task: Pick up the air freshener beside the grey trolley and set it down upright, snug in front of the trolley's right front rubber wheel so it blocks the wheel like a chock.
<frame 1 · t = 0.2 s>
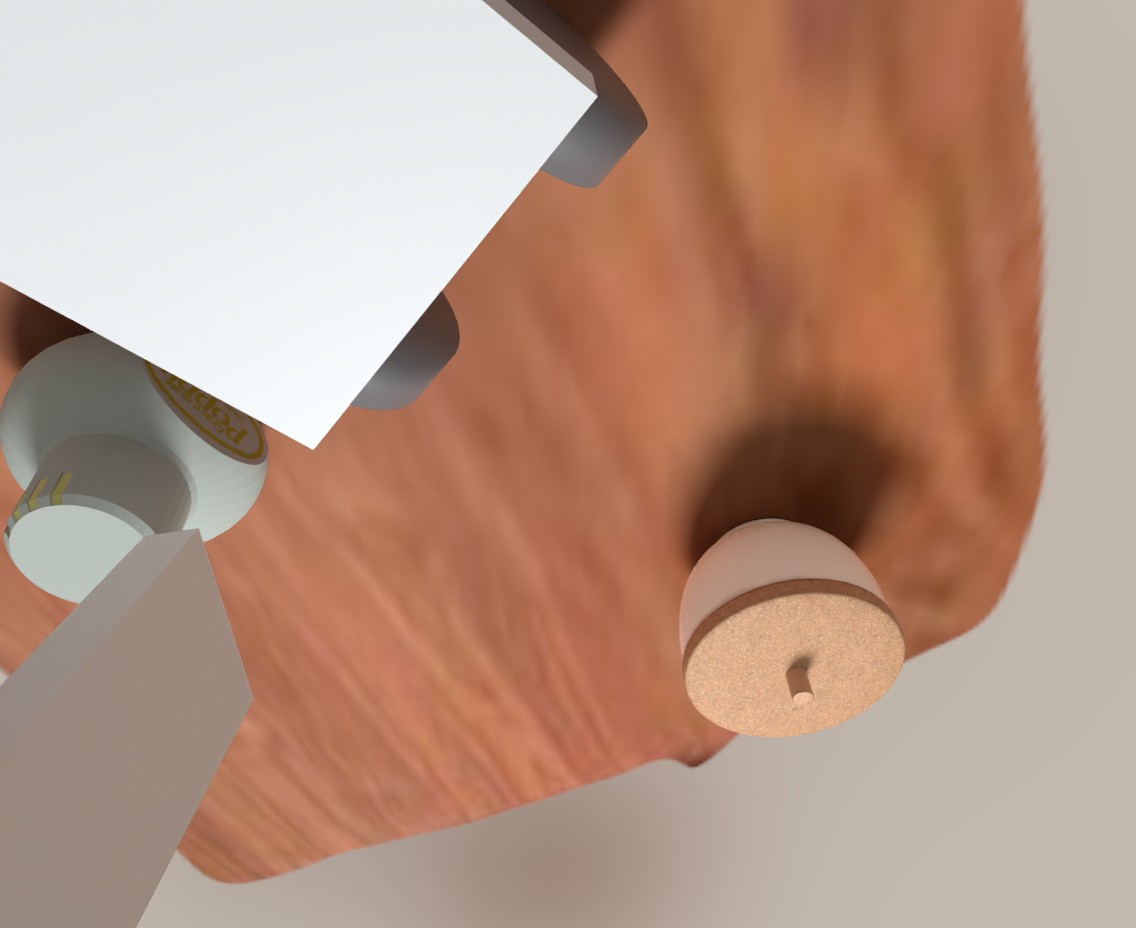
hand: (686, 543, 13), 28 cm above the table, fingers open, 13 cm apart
lidded jar: (761, 557, 53), on the table
air freshener: (159, 404, 45), on the table
trolley: (244, 5, 34), on the table
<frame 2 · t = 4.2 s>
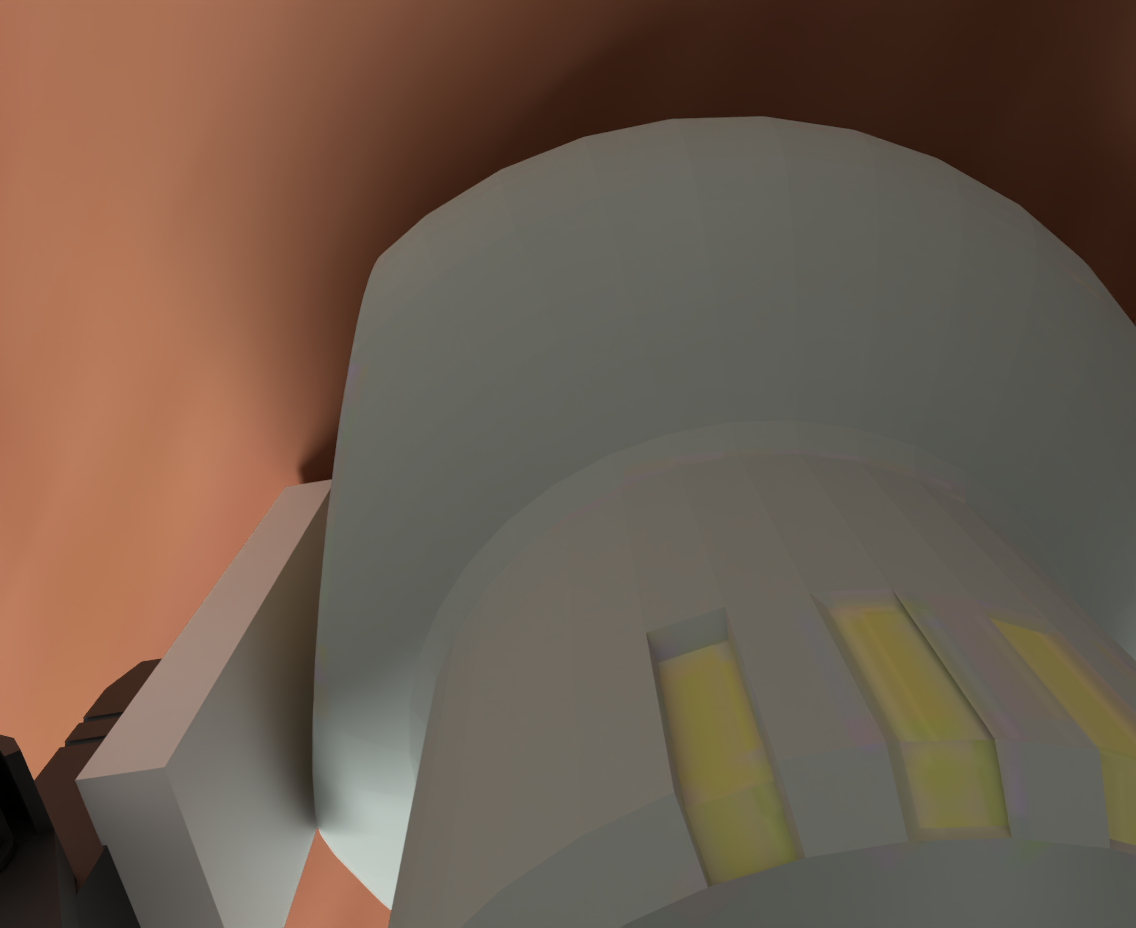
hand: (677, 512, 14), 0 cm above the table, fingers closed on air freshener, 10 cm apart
air freshener: (674, 500, 15), on the table, touching gripper
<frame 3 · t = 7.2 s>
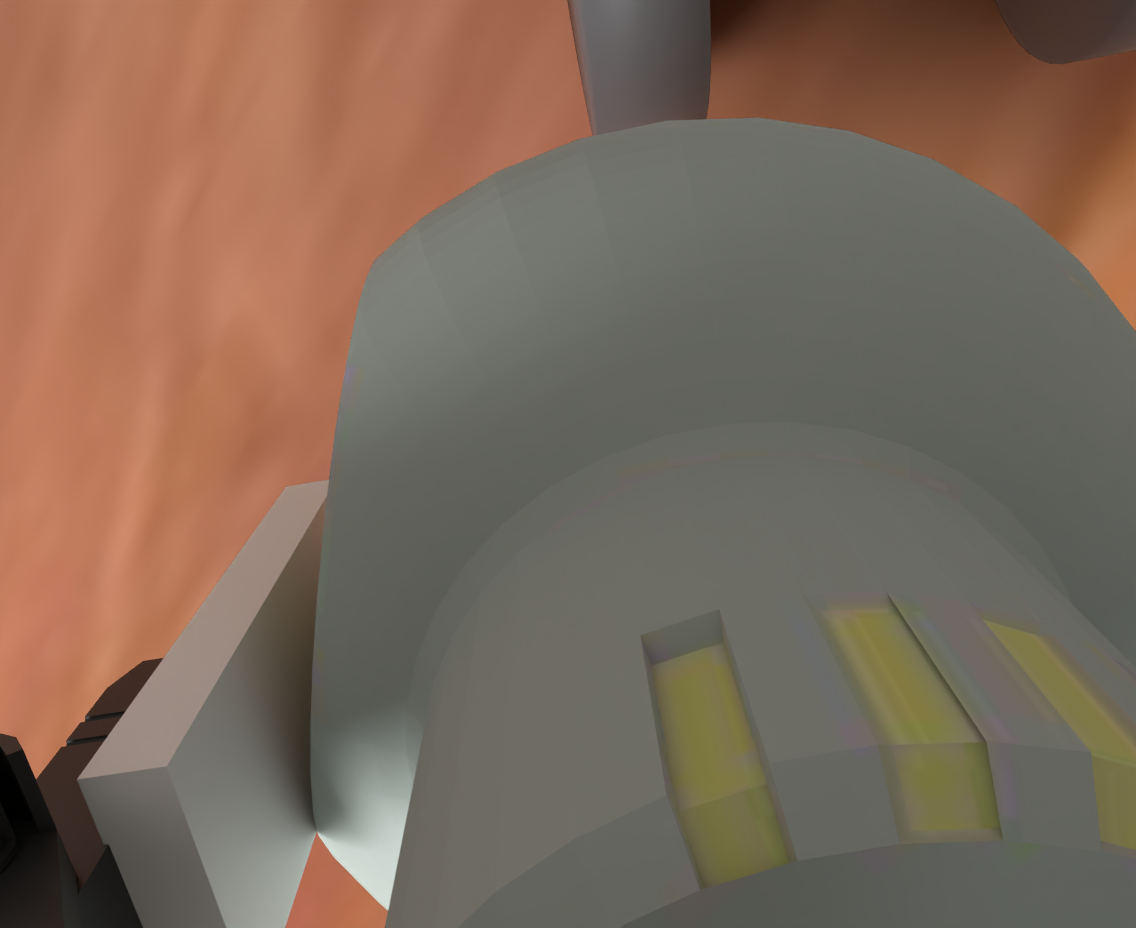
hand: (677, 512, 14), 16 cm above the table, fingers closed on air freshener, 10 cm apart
air freshener: (672, 500, 15), point 15 cm above the table, touching gripper
when the fingers open (1 cm above the table, at t = 10.1 s): air freshener stays where it is, on the table.
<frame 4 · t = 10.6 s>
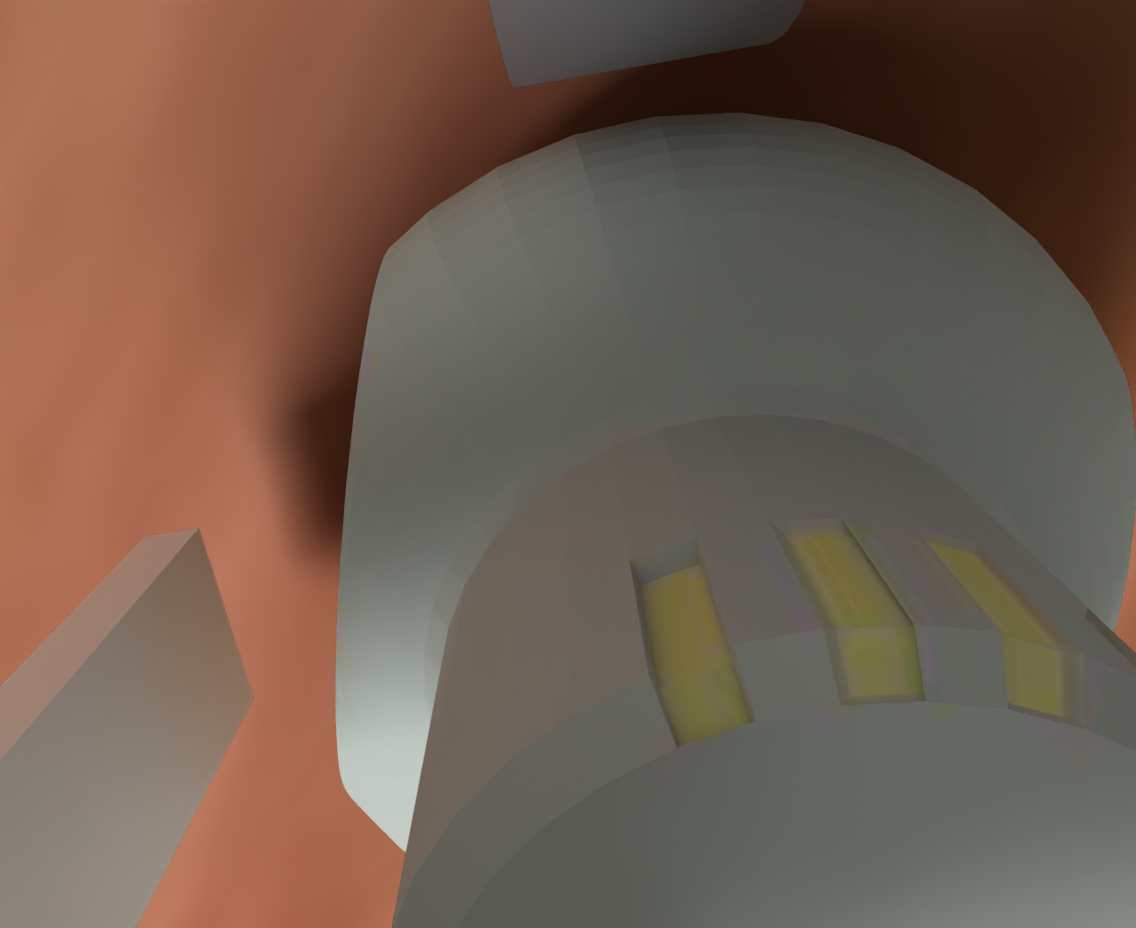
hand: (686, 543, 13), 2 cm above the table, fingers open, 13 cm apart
air freshener: (668, 476, 15), on the table
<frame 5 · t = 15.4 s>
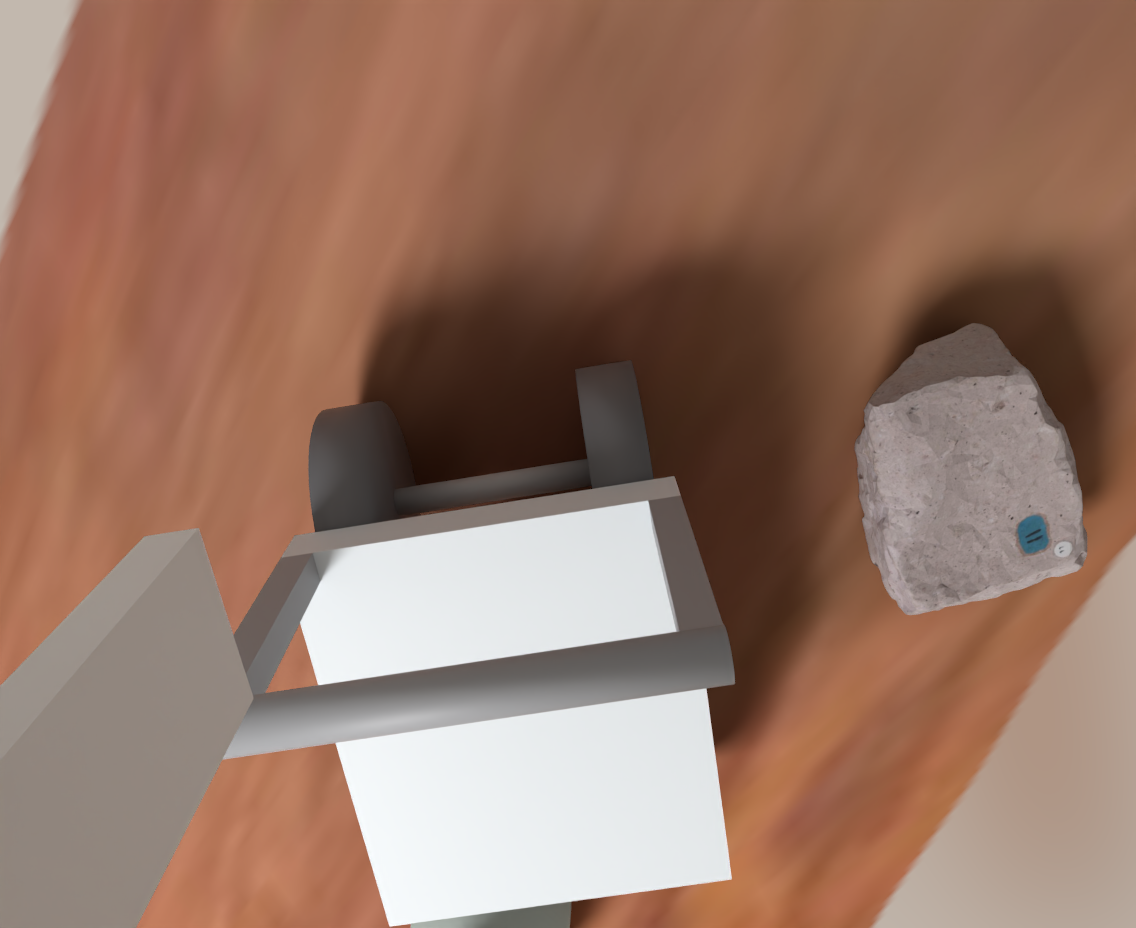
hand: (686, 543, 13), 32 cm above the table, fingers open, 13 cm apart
decorative stone: (940, 465, 47), on the table
air freshener: (492, 891, 56), on the table
trolley: (529, 599, 49), on the table
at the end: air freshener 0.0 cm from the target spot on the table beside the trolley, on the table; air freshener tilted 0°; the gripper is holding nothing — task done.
